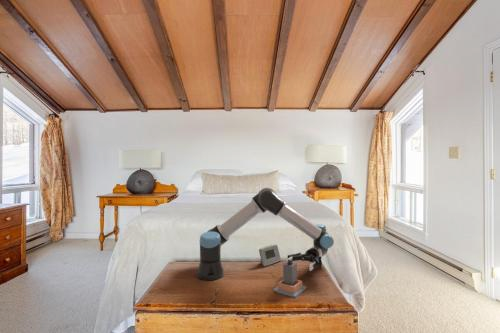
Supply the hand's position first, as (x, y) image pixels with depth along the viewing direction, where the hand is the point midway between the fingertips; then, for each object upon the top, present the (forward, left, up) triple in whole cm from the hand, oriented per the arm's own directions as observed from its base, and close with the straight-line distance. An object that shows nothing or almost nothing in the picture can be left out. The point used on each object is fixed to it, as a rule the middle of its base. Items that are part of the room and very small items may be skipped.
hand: (297, 265), depth 145 cm
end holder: (0, -9, -10) cm, 13 cm away
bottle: (0, -9, -9) cm, 12 cm away
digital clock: (-28, +17, -10) cm, 34 cm away
